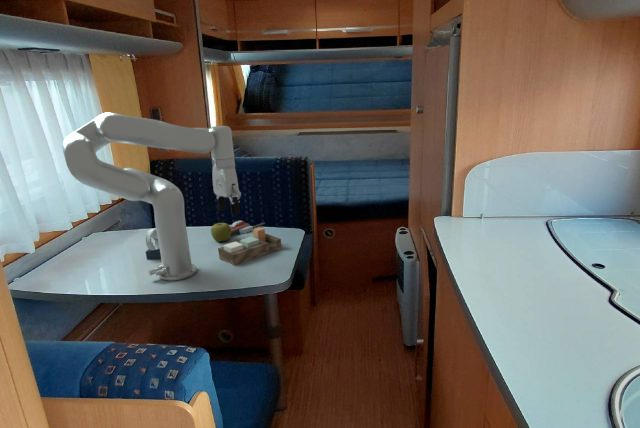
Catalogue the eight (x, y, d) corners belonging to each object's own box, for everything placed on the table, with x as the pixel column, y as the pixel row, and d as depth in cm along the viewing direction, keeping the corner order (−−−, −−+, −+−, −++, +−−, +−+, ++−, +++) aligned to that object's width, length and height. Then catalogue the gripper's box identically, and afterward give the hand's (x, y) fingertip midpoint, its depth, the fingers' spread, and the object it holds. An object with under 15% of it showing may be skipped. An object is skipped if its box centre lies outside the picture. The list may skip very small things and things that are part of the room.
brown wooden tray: (233, 265, 165) (232, 255, 164) (219, 258, 172) (218, 248, 171) (281, 248, 178) (280, 239, 177) (266, 242, 185) (265, 233, 184)
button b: (248, 250, 171) (247, 243, 170) (240, 247, 175) (240, 240, 174) (259, 247, 174) (258, 239, 173) (252, 243, 178) (251, 236, 177)
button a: (231, 256, 167) (230, 248, 166) (224, 253, 170) (223, 245, 169) (243, 252, 170) (242, 244, 169) (236, 249, 173) (235, 241, 172)
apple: (213, 238, 194) (211, 222, 191) (233, 237, 194) (231, 220, 192) (211, 245, 186) (209, 228, 184) (231, 243, 187) (229, 226, 185)
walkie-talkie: (231, 240, 192) (266, 226, 206) (230, 229, 191) (265, 216, 205) (217, 236, 198) (253, 223, 212) (216, 226, 196) (252, 213, 211)
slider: (258, 243, 179) (257, 231, 178) (254, 241, 181) (253, 229, 180) (265, 241, 181) (264, 228, 180) (261, 239, 183) (260, 227, 182)
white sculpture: (168, 253, 181) (163, 225, 177) (158, 261, 173) (154, 233, 170) (154, 253, 181) (149, 226, 178) (144, 261, 174) (139, 233, 170)
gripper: (201, 162, 164) (207, 209, 169) (227, 167, 152) (233, 219, 157) (220, 158, 169) (225, 205, 174) (246, 163, 156) (251, 214, 161)
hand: (229, 211), depth 165 cm, fingers open, 8 cm apart
